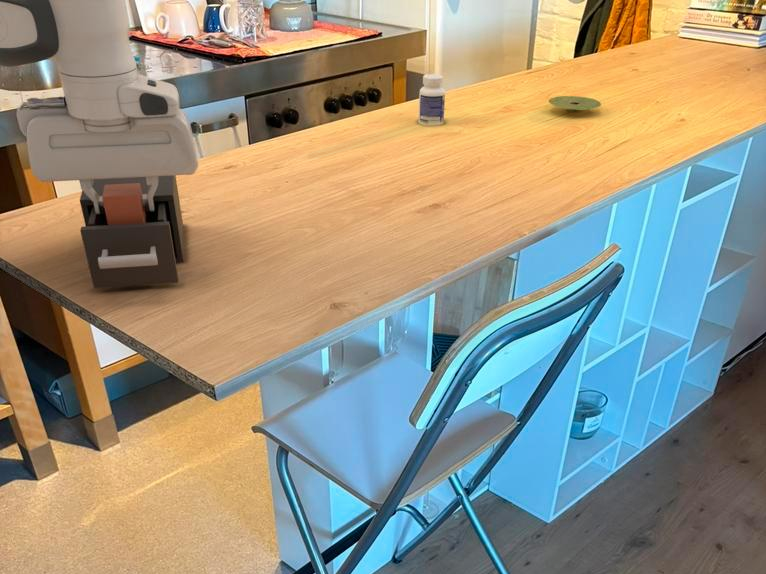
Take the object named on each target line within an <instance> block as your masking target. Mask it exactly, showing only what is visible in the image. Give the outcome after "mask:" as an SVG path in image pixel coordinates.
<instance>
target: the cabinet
mask: <svg viewBox="0 0 766 574" xmlns="http://www.w3.org/2000/svg"><path fill="white" fill-rule="evenodd" d="M93 181H94V182H93V186H92V187H93V189H94V190H95V191H96V192H97V194H98V195H99V196H103V191H104V186H105V185H111V184H130V183H140V186H141V191H142V194H147V192H148V190H149V187H150V185H147V182H146V177H135V178H114V179H94V180H93ZM160 201H166V202H167V209H168V215H169V221H170V227H171V233H172V239H173V248H174V254H175V261H176V264H178V263H179V264H180V263H185V262H184V261H185V260H184V259H185V257H184V256H185V254H184V253H185V252H184V250H185V249H184V247H185V246H184V223H183V216H182V209H181V202H180V195H179V189H178V183H177V175H175V176H158V186H157V189H156V191H155V194H154V196H153V202H160ZM79 203H80V208H81V212H82V217H83V222H84V227H85V226H88V223H89V218H90V214H91V209H92V205H94V203H93V201H91V199H90V198H89V197H88V196H87V195H86V194H85V193H84V191H83V190H82V189H81V194H80V197H79Z"/></svg>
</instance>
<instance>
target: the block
mask: <svg viewBox="0 0 766 574" xmlns="http://www.w3.org/2000/svg"><path fill="white" fill-rule="evenodd" d="M141 194H142V191H141V186H140V183H130V184H111V185H105V186H104V191H103V196H102V199H103V203H104V208H105V213H106V217H107V222H108V225H118V224H135V223H146V213H145V212H143V209H142V204H141Z"/></svg>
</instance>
